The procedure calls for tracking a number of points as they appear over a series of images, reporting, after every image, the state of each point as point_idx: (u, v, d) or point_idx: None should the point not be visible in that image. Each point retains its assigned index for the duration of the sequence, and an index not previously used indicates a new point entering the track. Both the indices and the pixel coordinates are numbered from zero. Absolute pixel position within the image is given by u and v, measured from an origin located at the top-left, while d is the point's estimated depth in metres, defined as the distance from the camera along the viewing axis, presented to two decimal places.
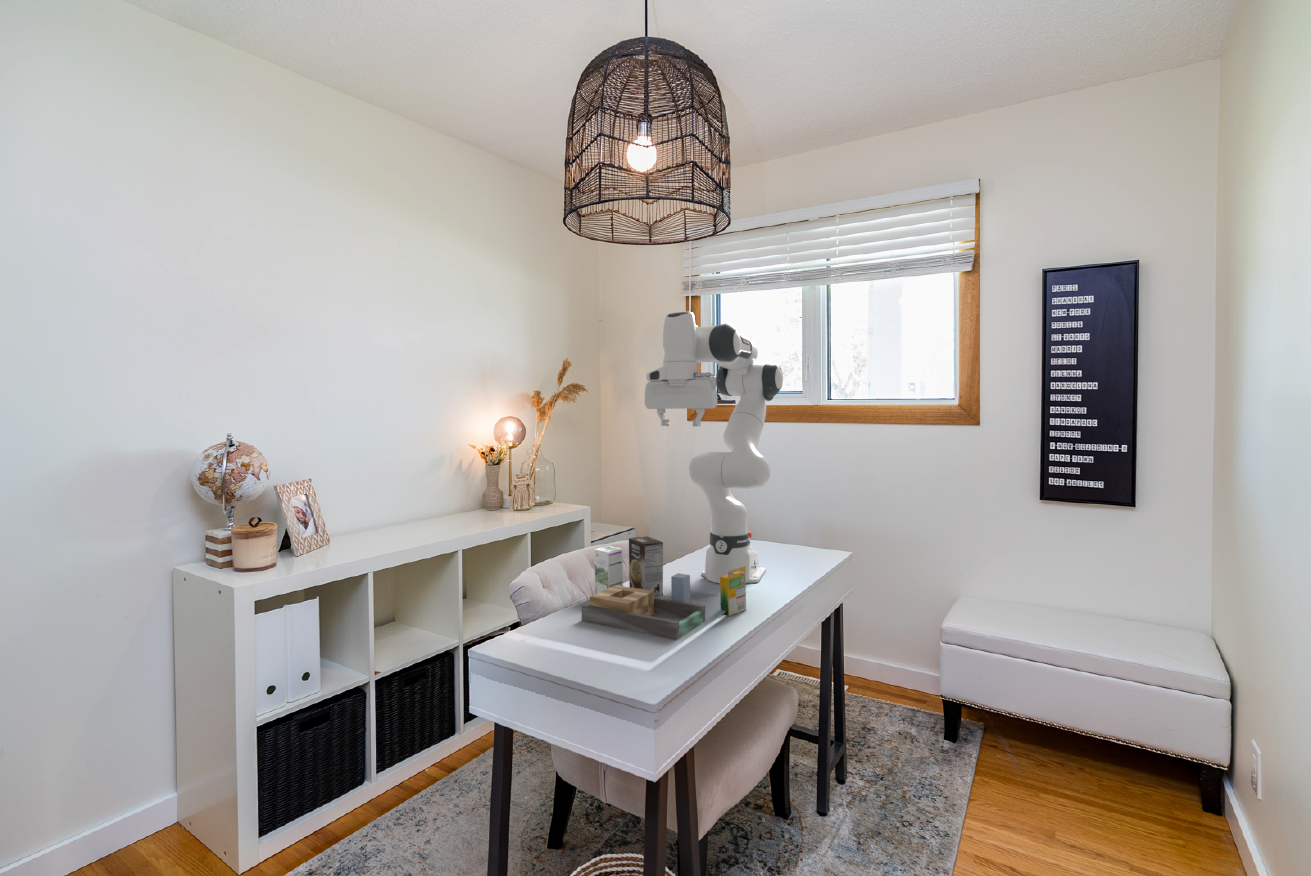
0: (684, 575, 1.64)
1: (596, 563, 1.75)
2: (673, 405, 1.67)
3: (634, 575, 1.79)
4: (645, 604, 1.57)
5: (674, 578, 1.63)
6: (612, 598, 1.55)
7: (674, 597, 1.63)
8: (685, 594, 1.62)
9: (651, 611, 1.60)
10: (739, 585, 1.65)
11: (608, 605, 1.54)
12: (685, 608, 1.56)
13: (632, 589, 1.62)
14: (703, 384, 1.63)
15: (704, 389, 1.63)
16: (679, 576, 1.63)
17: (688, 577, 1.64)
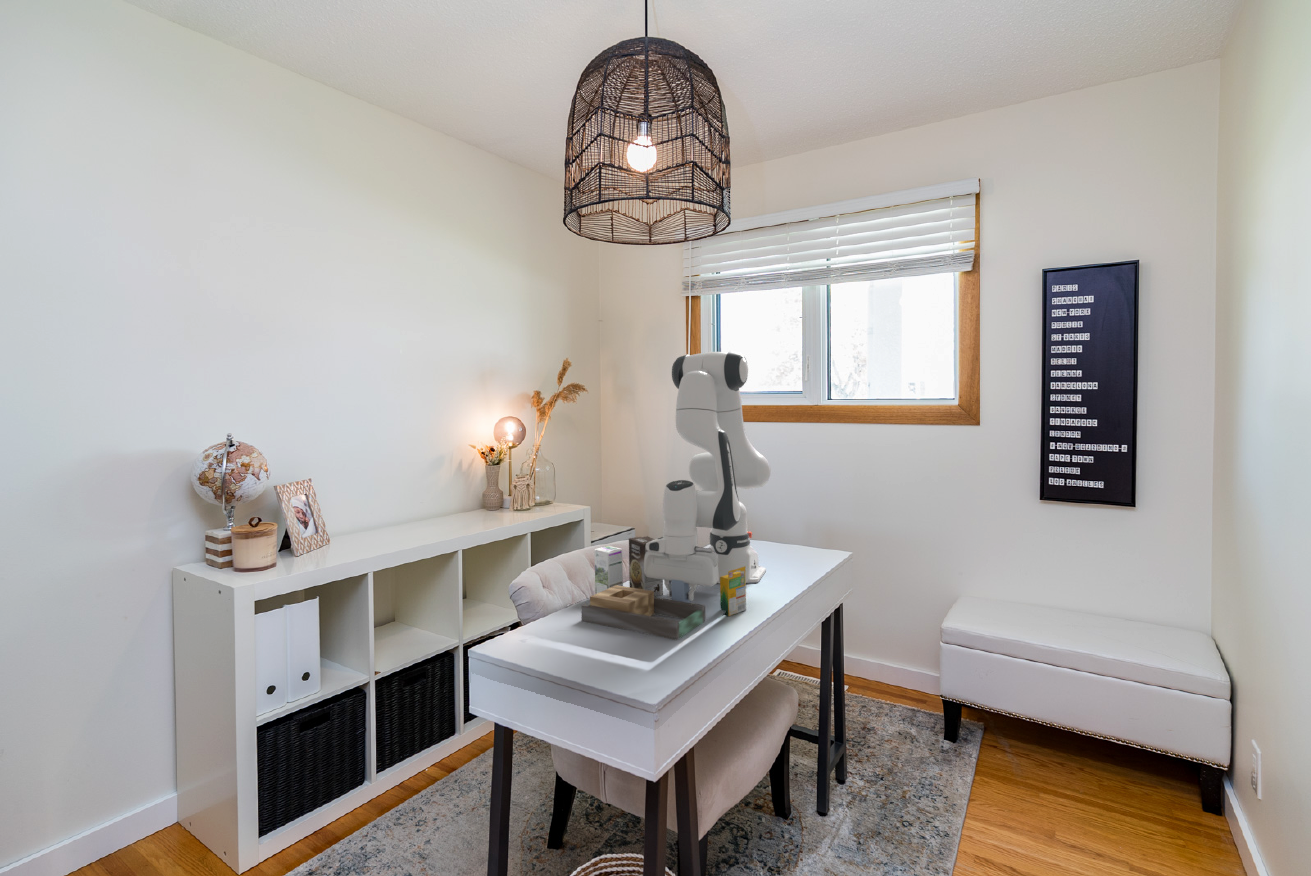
0: None
1: (596, 563, 1.75)
2: (673, 578, 1.63)
3: (634, 575, 1.79)
4: (645, 604, 1.57)
5: None
6: (612, 598, 1.55)
7: (674, 597, 1.63)
8: None
9: (651, 611, 1.60)
10: (739, 585, 1.65)
11: (608, 605, 1.54)
12: (685, 608, 1.56)
13: (632, 589, 1.62)
14: (704, 561, 1.58)
15: (706, 567, 1.58)
16: None
17: None
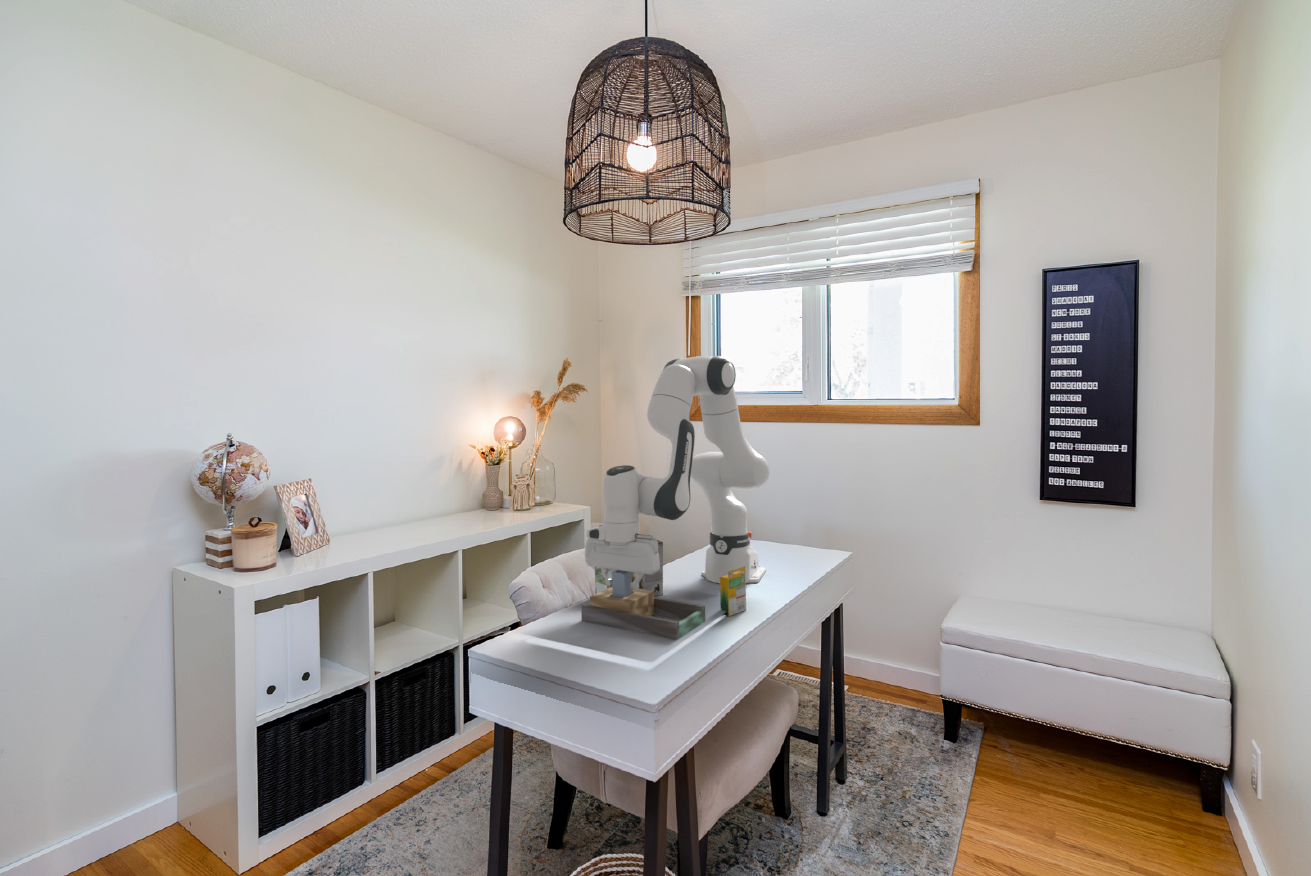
0: (626, 571, 1.58)
1: None
2: (614, 567, 1.57)
3: None
4: (645, 604, 1.57)
5: (615, 574, 1.57)
6: (612, 598, 1.55)
7: (615, 594, 1.57)
8: (626, 590, 1.57)
9: (651, 611, 1.60)
10: (739, 585, 1.65)
11: (608, 605, 1.54)
12: (685, 608, 1.56)
13: None
14: (644, 549, 1.53)
15: (645, 555, 1.52)
16: (620, 572, 1.58)
17: (630, 573, 1.58)
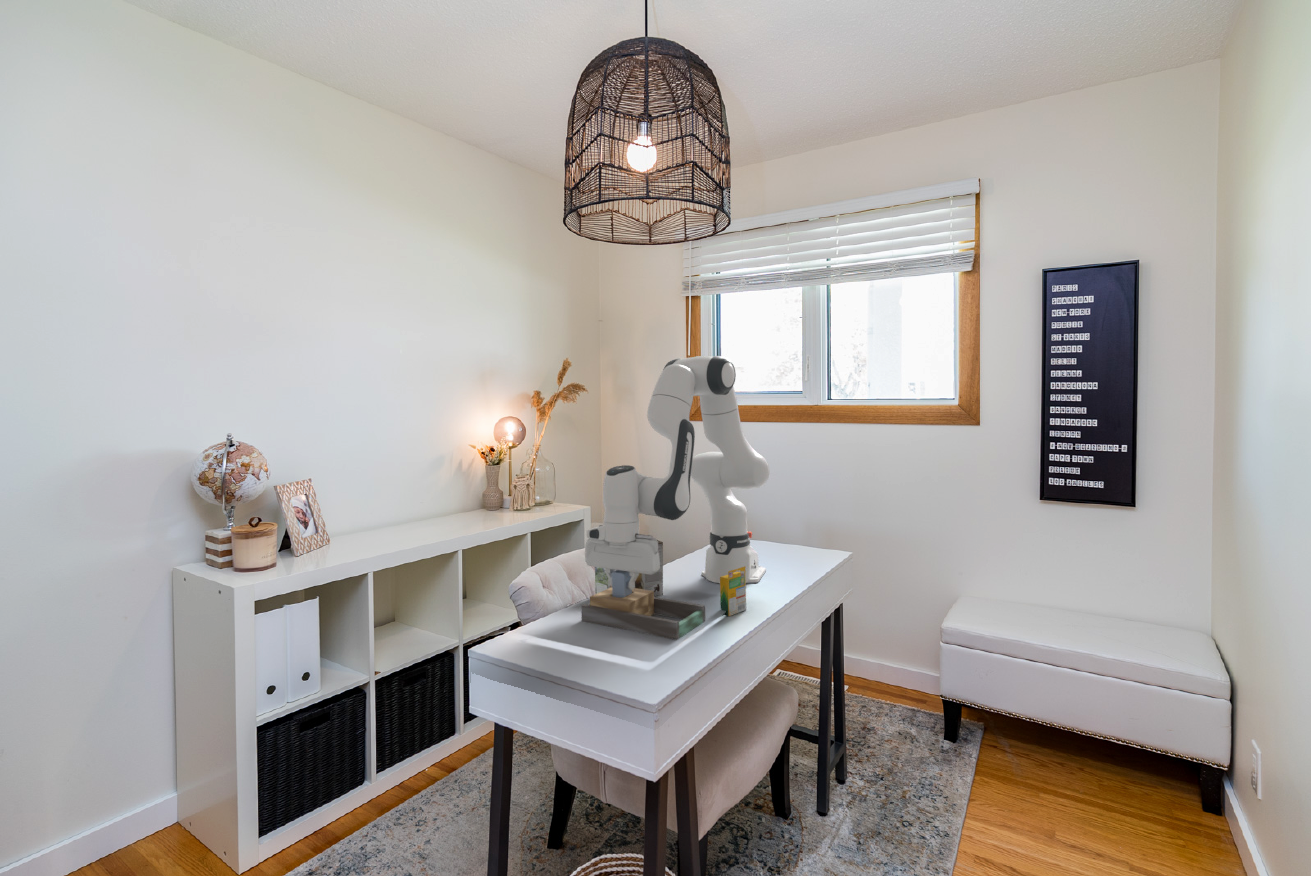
0: (625, 571, 1.58)
1: None
2: (614, 567, 1.57)
3: None
4: (645, 604, 1.57)
5: (615, 574, 1.57)
6: (612, 598, 1.55)
7: (615, 594, 1.57)
8: (625, 590, 1.57)
9: (651, 611, 1.60)
10: (739, 585, 1.65)
11: (608, 605, 1.54)
12: (685, 608, 1.56)
13: (632, 589, 1.62)
14: (644, 549, 1.53)
15: (645, 555, 1.52)
16: (620, 572, 1.58)
17: (629, 573, 1.58)
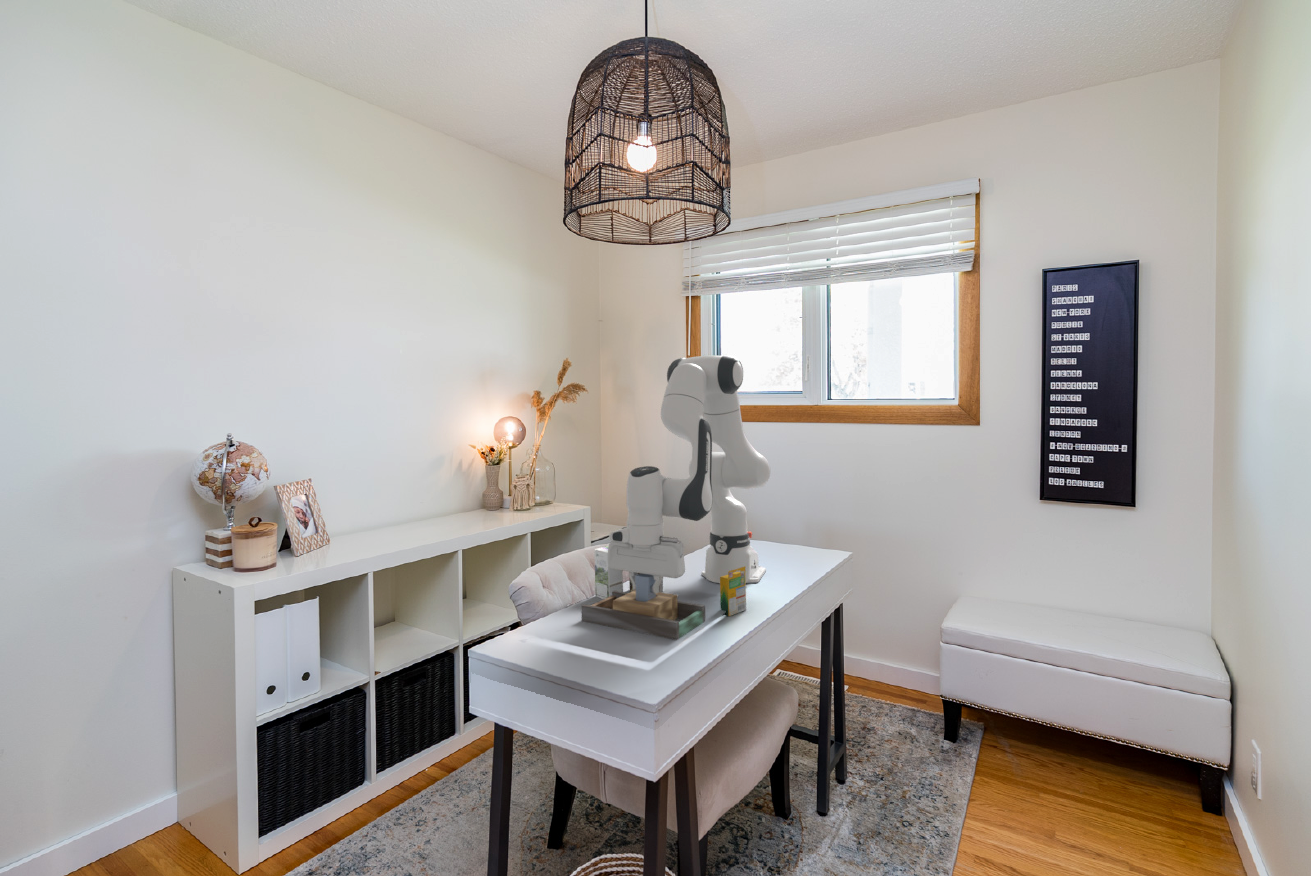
0: None
1: (596, 563, 1.75)
2: (638, 570, 1.54)
3: None
4: (669, 608, 1.54)
5: (638, 577, 1.54)
6: (636, 602, 1.51)
7: (638, 597, 1.54)
8: (649, 594, 1.53)
9: (675, 615, 1.56)
10: (739, 585, 1.65)
11: (631, 609, 1.50)
12: (685, 608, 1.56)
13: None
14: (669, 552, 1.49)
15: (670, 558, 1.49)
16: (644, 575, 1.54)
17: (653, 576, 1.55)
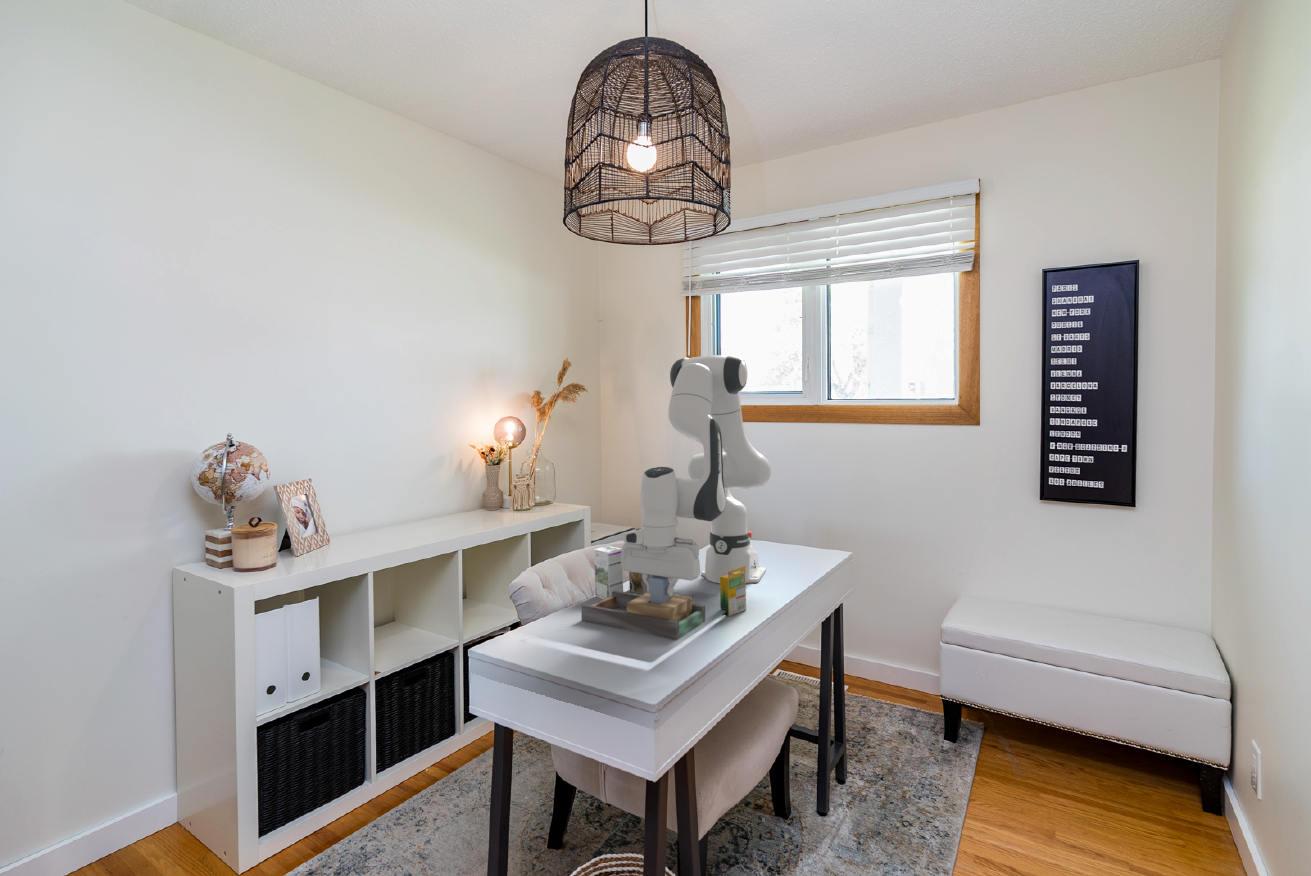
0: None
1: (596, 563, 1.75)
2: (652, 572, 1.52)
3: (634, 575, 1.79)
4: (683, 610, 1.52)
5: (653, 579, 1.52)
6: (650, 605, 1.49)
7: (653, 600, 1.52)
8: (664, 596, 1.51)
9: None
10: (739, 585, 1.65)
11: (646, 612, 1.48)
12: None
13: None
14: (684, 553, 1.47)
15: (686, 560, 1.47)
16: (658, 577, 1.52)
17: None
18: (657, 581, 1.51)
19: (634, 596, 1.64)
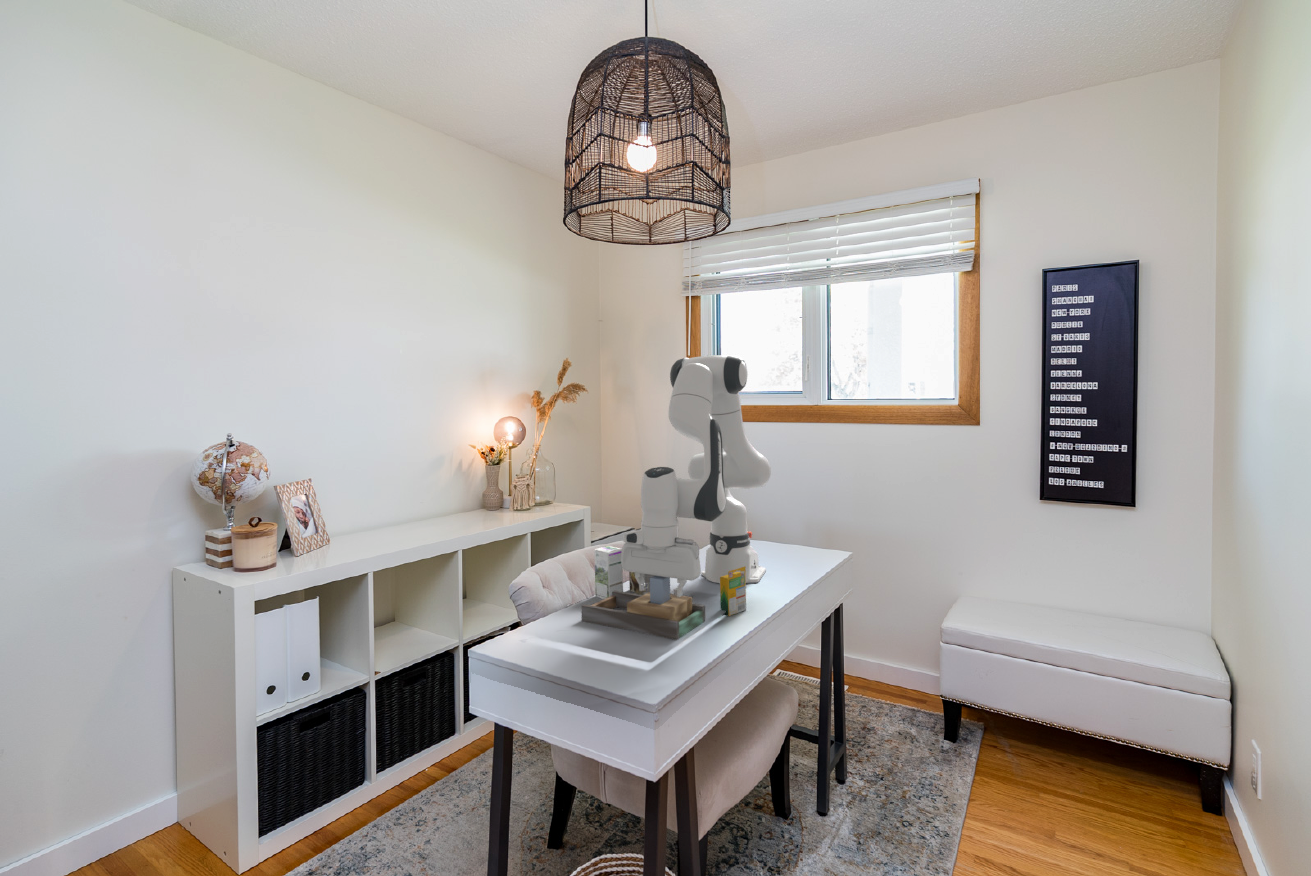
0: None
1: (596, 563, 1.75)
2: (652, 572, 1.52)
3: (634, 575, 1.79)
4: (684, 610, 1.52)
5: (653, 580, 1.52)
6: (650, 605, 1.49)
7: (653, 600, 1.52)
8: (664, 596, 1.51)
9: None
10: (739, 585, 1.65)
11: (646, 612, 1.48)
12: None
13: None
14: (684, 553, 1.47)
15: (686, 560, 1.47)
16: (658, 577, 1.52)
17: (668, 578, 1.53)
18: (657, 581, 1.51)
19: (634, 596, 1.64)
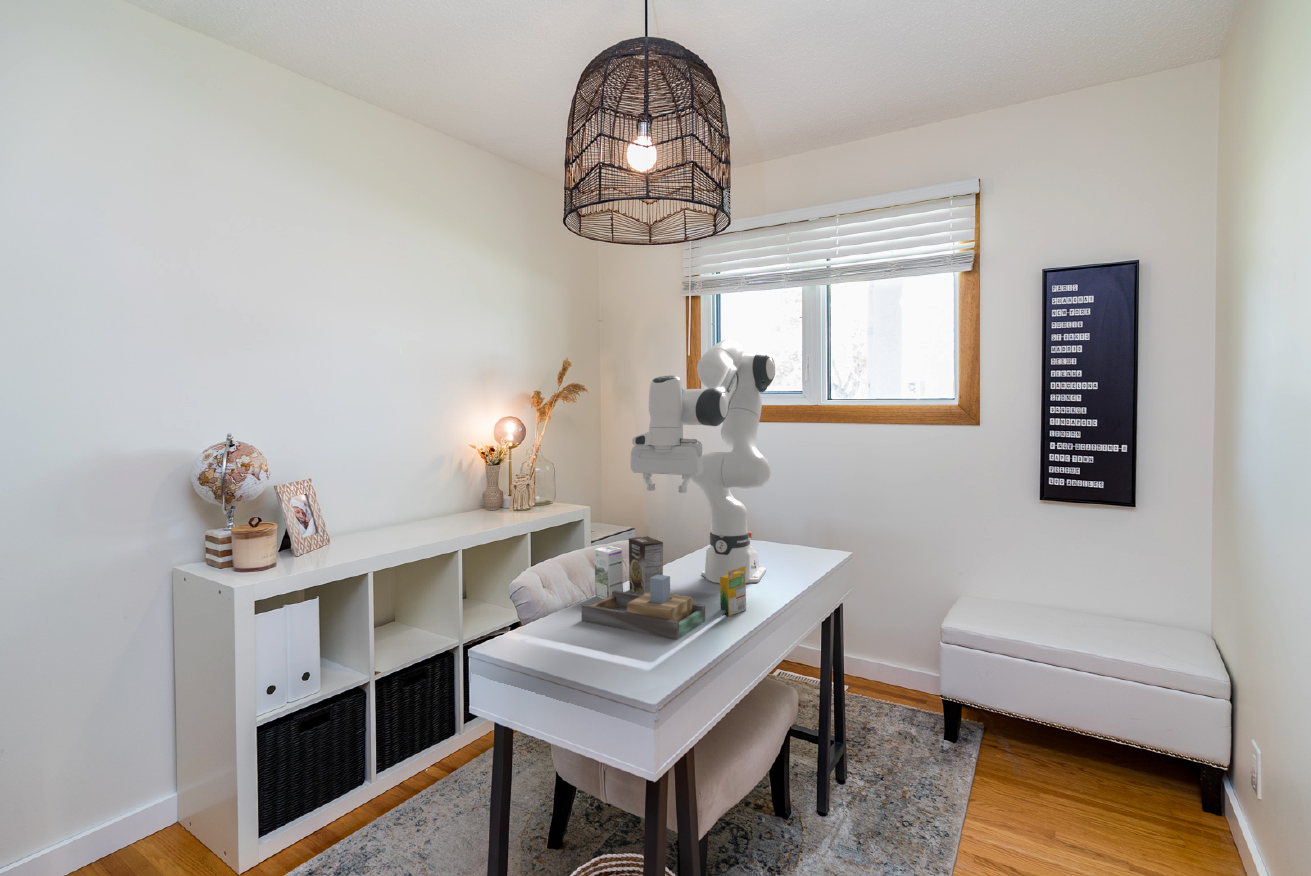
0: (664, 576, 1.53)
1: (596, 563, 1.75)
2: (659, 471, 1.66)
3: (634, 575, 1.79)
4: (684, 610, 1.52)
5: (653, 580, 1.52)
6: (650, 605, 1.49)
7: (653, 600, 1.52)
8: (664, 596, 1.51)
9: None
10: (739, 585, 1.65)
11: (646, 612, 1.48)
12: None
13: None
14: (689, 451, 1.61)
15: (690, 457, 1.61)
16: (658, 577, 1.52)
17: (668, 578, 1.53)
18: (657, 581, 1.51)
19: (634, 596, 1.64)
